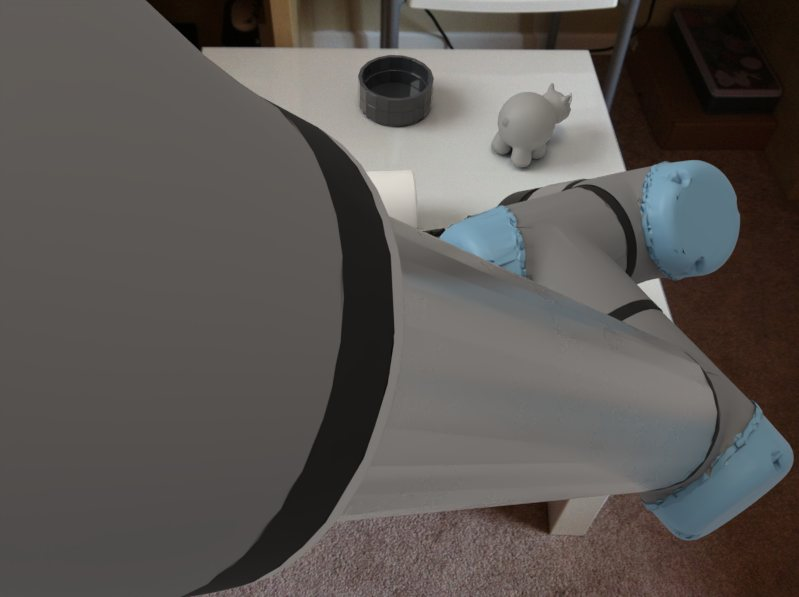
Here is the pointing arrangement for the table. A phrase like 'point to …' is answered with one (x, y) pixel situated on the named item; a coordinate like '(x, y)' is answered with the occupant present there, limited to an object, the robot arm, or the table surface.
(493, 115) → the table surface
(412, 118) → the dark grey round container
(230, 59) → the table surface
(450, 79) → the table surface
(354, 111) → the table surface
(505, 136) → the round bodied animal figurine
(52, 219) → the robot arm
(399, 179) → the mug
